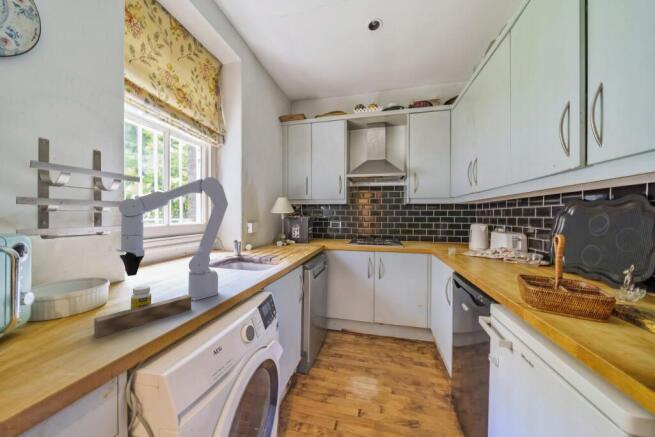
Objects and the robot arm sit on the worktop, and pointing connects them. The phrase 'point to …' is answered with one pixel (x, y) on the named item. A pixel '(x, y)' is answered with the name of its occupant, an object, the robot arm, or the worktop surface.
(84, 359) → the worktop surface
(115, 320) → the walnut board
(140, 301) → the supplement bottle
